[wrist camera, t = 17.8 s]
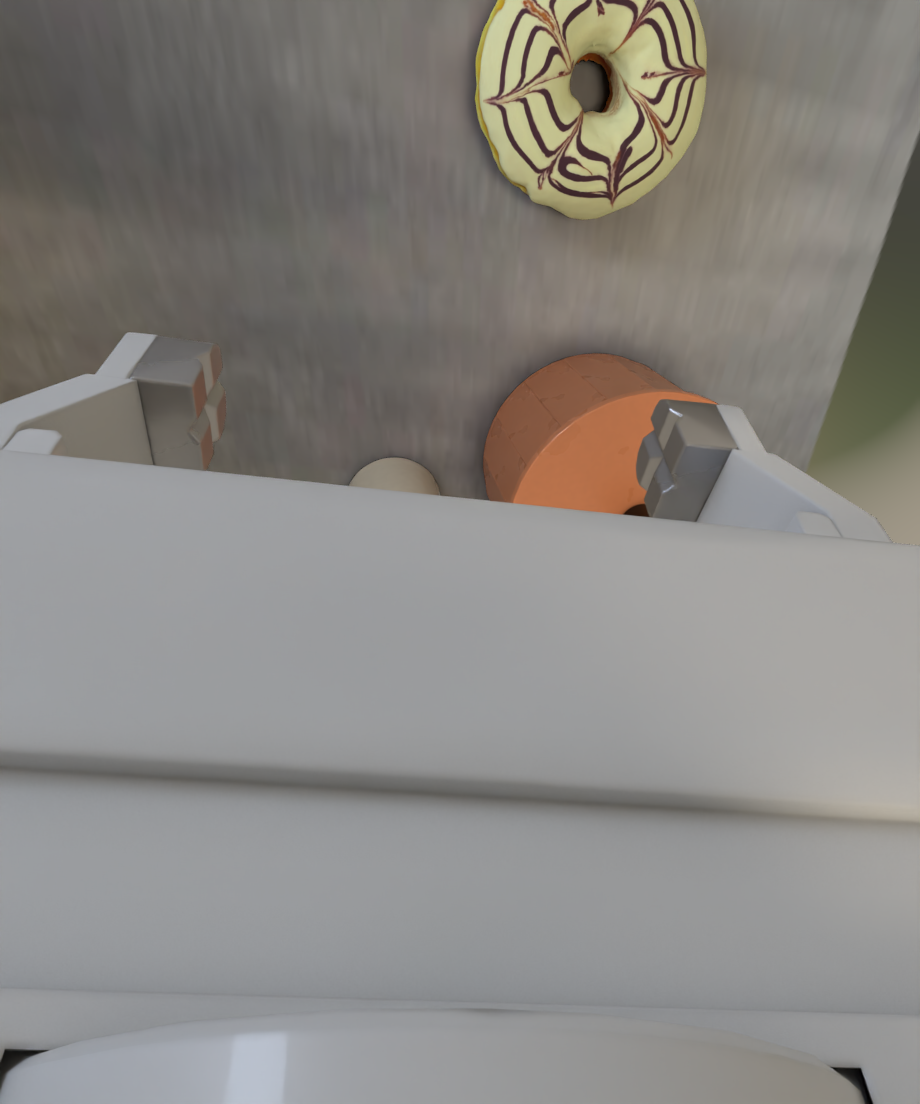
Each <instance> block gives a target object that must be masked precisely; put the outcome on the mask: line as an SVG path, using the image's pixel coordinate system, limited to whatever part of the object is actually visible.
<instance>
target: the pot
mask: <svg viewBox="0 0 920 1104" xmlns="http://www.w3.org/2000/svg"><path fill="white" fill-rule="evenodd" d="M652 389H669V390H680V391H683V390H681V389H680V388H678V387H677V386H675V385H674V384H672V383H671V382H669V381H668V380H666V379H665V378H663V377H662V376H661V375H659V374H658V373H656V372H655V371H653V370H652V369H650V368H649V367H647V366H646V365H644V364H641V363H637V362H635V361H632V360H629V359H627V358H624V357H620V356H616V355H611V354H598V353H594V354H581V355H577V356H572V357H567V358H565V359H562V360H559V361H556V362H554V363H552V364H550V365H548V366H545V367H543V368H541V369H540V370H538V371H537V372H535V373H534V374H532V375H531V376H529V377H528V378H527V379H526V380H525V381H523V382H522V383H521V384H520V385H519V386H518V387H517V388H516V389H515V390H514V391H513V392H512V393H511V394H510V395H509V396H508V398H507V399H506V400H505V402H504V403H503V405H502V406H501V407H500V409H499V411H498V413H497V414H496V416H495V418H494V420H493V422H492V425H491V427H490V430H489V432H488V435H487V439H486V443H485V449H484V457H483V470H484V478H485V484H486V491H487V495H488V497H489V500H490V501H497V502H506V503H510V501H511V497H512V494H513V491H514V489H515V487H516V484H517V482H518V480H519V478H520V476H521V474H522V472H523V471H524V469H525V467H526V466H527V464H528V462H529V461H530V459H531V458H532V457H533V455H534V454H535V453H536V452H537V450H538V449H539V448H540V446H541V445H542V444H543V443H544V442H545V441H546V440H547V439H548V438H549V437H550V436H551V435H552V434H553V433H554V432H555V431H556V430H558V429H559V428H560V427H561V426H562V425H564V424H565V423H566V422H567V421H569V420H570V419H572V418H573V417H575V416H576V415H578V414H579V413H581V412H582V411H584V410H586V409H588V408H590V407H592V406H594V405H596V404H598V403H600V402H602V401H604V400H607V399H610V398H613V397H616V396H619V395H622V394H626V393H631V392H636V391H640V390H652Z"/></svg>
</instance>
